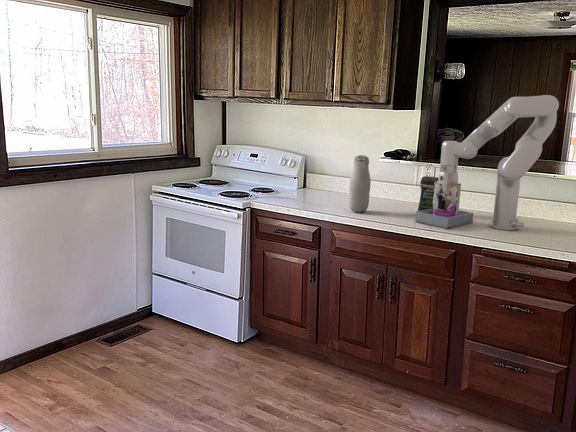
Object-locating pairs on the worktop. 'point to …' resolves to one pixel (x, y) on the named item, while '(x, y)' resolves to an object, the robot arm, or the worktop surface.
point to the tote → (444, 219)
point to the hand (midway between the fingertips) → (445, 207)
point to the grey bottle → (359, 185)
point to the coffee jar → (426, 192)
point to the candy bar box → (447, 201)
